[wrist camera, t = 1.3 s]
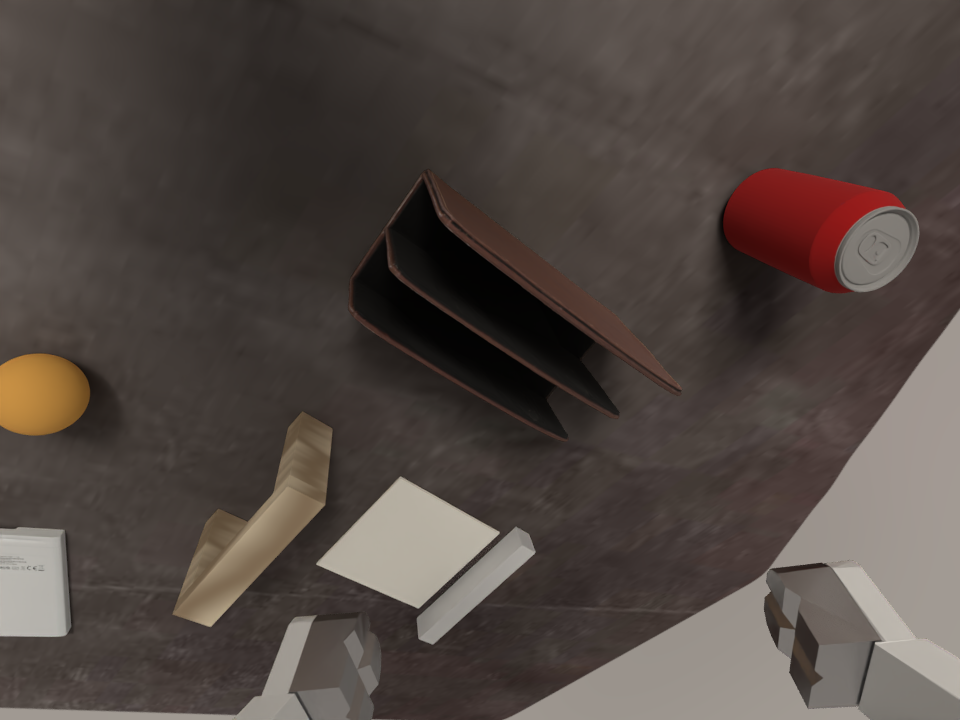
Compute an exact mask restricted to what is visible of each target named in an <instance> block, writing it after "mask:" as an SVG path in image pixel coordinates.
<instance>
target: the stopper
mask: <svg viewBox="0 0 960 720" xmlns="http://www.w3.org/2000/svg"><path fill="white" fill-rule="evenodd" d="M535 553H536V552H535V549H534V547H533V544H532V541H531V538H530V535H529V534H528V533H526V532H525V531H523V530H521V529H519V528H518V527H515V528H514V529H513V530H512V531H511V532H510V533H508V534H507V535H506V536H505V537H504V538H503V539H502V540H501V541H500V542H499V543H498V544H497V545H495V546H494V547H493V548H492V549H491V550H490V551H489V552H488V553H487V554H486V555H485V556H483V557H482V558H481V559H480V560H479V561H478V562H477V563H476V564H475V565H474V566H473V567H472V568H470V569H469V570H468V571H467V572H466V573H465V574H464V575H463V576H462V577H461V578H460V579H459V580H457V581H456V582H455V583H454V584H453V585H452V586H451V587H450V588H449V589H448V590H447V591H446V592H444V593H443V594H442V595H441V596H440V597H439V598H438V599H437V600H436V601H435V602H434V603H433V604H431V605H430V606H429V607H428V608H427V609H426V610H425V611H424V612H423V613H422V614H421V615H420V616H418V617H417V628H418V638H419V639H420V640H422V641H425V642H427V643H430V644H432V645H433V644H434V643H435V642H436V641H437V640H439V639H440V638H441V637H442V636H443V635H444V634H445V633H446V632H447V631H449V630H450V629H451V628H452V627H453V626H454V625H455V624H456V623H458V622H459V621H460V620H461V619H462V618H463V617H464V616H465V615H467V614H468V613H469V612H470V611H471V610H472V609H473V608H474V607H475V606H477V605H478V604H479V603H480V602H481V601H482V600H483V599H484V598H486V597H487V596H488V595H489V594H490V593H491V592H492V591H493V590H494V589H496V588H497V587H498V586H499V585H500V584H501V583H502V582H503V581H505V580H506V579H507V578H508V577H509V576H510V575H511V574H512V573H513V572H515V571H516V570H517V569H518V568H519V567H520V566H521V565H522V564H524V563H525V562H526V561H527V560H528V559H529V558H530V557H531V556H532V555H534V554H535Z"/></svg>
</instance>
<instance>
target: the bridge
mask: <svg viewBox="0 0 960 720" xmlns="http://www.w3.org/2000/svg"><path fill="white" fill-rule="evenodd" d="M332 432H333V429H332V428H331V427H329V426H327V425H325V424H324V423H322V422H320V421H318V420H317V419H315V418H313V417H311V416H310V415H308V414H306V413H304V412H303V411H302V412H301V413H300V415H299V416H298V417H297V418H296V419H295V420H294V422H293V423H292V424H291V425H290V426H289V427H288V431H287V435H286V440H285V444H284V448H283V453H282V457H281V462H280V466H279V470H278V475H277V479H276V484H275V488H274V492H273V494H272V495H271V496H270V498H269V499H268V500H267V501H266V502H265V503H264V504H263V505H262V507H261V508H260V509H259V510H258V511H257V512H256V513H255V514H254V515H253V517H252V518H251V519H250V520H249V521H248V522H247V521H245V520H243V519H241V518H238V517H236V516H234V515H232V514H229V513H227V512H225V511H223V510H220V509H217V510H216V512H215V513H214V514H213V515H212V516H211V517H210V518H209V520H208V521H207V522H206V523H205V526H204V529H203V532H202V534H201V537H200V540H199V543H198V545H197V548H196V551H195V554H194V556H193V559H192V562H191V565H190V567H189V570H188V573H187V576H186V578H185V581H184V584H183V587H182V589H181V592H180V595H179V598H178V600H177V603H176V606H175V608H174V611H173V615H176V616H179V617H182V618H185V619H188V620H191V621H194V622H197V623H200V624H203V625H206V626H209V627H211V626H212V625H213V624H214V623H215V622H216V621H217V620H218V619H219V618H220V617H221V615H222V614H223V613H224V612H225V611H226V610H227V609H228V608H229V607H230V606H231V605H232V604H233V603H234V602H235V601H236V599H237V598H238V597H239V596H240V595H241V594H242V593H243V592H244V591H245V590H246V589H247V588H248V587H249V586H250V585H251V583H252V582H253V581H254V580H255V579H256V578H257V577H258V576H259V575H260V574H261V573H262V572H263V571H264V570H265V569H266V567H267V566H268V565H269V564H270V563H271V562H272V561H273V560H274V559H275V558H276V557H277V556H278V555H279V554H280V553H281V551H282V550H283V549H284V548H285V547H286V546H287V545H288V544H289V543H290V542H291V541H292V540H293V539H294V538H295V537H296V535H297V534H298V533H299V532H300V531H301V530H302V529H303V528H304V527H305V526H306V525H307V524H308V523H309V522H310V521H311V519H312V518H313V517H314V516H315V515H316V514H317V513H318V512H319V511H320V510H321V509H322V508H323V507H324V506H325V502H326V492H327V482H328V472H329V462H330V452H331V442H332Z"/></svg>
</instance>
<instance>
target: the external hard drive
mask: <svg viewBox="0 0 960 720" xmlns="http://www.w3.org/2000/svg"><path fill="white" fill-rule="evenodd" d="M70 628H71V614H70V601H69V585H68V570H67V554H66V540H65V530H59V529H41V528H24V527H17V528H16V529H11V528H0V636H36V637H60V636H65V635H67V634H68V632H69V630H70Z"/></svg>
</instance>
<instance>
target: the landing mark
mask: <svg viewBox="0 0 960 720" xmlns="http://www.w3.org/2000/svg"><path fill="white" fill-rule="evenodd" d="M498 534H500V532H499V531H497V530H495V529H493V528H492V527H490V526H488V525H486V524H484V523H483V522H481V521H479V520H477V519H476V518H474V517H472V516H470V515H468V514H467V513H465V512H463V511H461V510H460V509H458V508H456V507H454V506H452V505H451V504H449V503H447V502H445V501H444V500H442V499H440V498H438V497H436V496H435V495H433V494H431V493H429V492H428V491H426V490H424V489H422V488H420V487H419V486H417V485H415V484H413V483H412V482H410V481H408V480H406V479H404V478H403V477H401V476H400V477H399V478H398V479H397V480H396V481H395V482H394V483H393V484H392V485H391V486H390V487H389V488H388V490H387V491H386V492H385V493H384V494H383V495H382V496H381V497H380V498H379V499H378V500H377V501H376V502H375V503H374V504H373V505H372V506H371V507H370V508H369V509H368V510H367V511H366V512H365V513H364V514H363V515H362V516H361V517H360V518H359V519H358V520H357V521H356V523H355V524H354V525H353V526H352V527H351V528H350V529H349V530H348V531H347V532H346V533H345V534H344V535H343V536H342V537H341V538H340V539H339V540H338V541H337V542H336V543H335V544H334V545H333V546H332V547H331V548H330V549H329V550H328V551H327V552H326V553H325V554H324V555H323V557H322V558H321V559H320V560H319V561H318V562H317V563H316V565H318V566H321V567H323V568H325V569H328V570H330V571H332V572H335V573H337V574H339V575H342V576H344V577H346V578H349V579H351V580H353V581H356V582H358V583H360V584H363V585H365V586H367V587H370V588H372V589H374V590H377V591H379V592H381V593H383V594H386V595H388V596H390V597H393V598H395V599H397V600H400V601H402V602H404V603H407V604H409V605H411V606H414V607H416V608H418V609H419V608H420V607H421V606H422V605H423V604H424V603H425V602H426V601H427V600H428V599H429V598H431V597H432V596H433V595H434V594H435V593H436V592H437V591H438V590H439V589H440V588H441V587H442V586H443V585H445V584H446V583H447V582H448V581H449V580H450V579H451V578H452V577H453V576H454V575H455V574H456V573H457V572H459V571H460V570H461V569H462V568H463V567H464V566H465V565H466V564H467V563H468V562H469V561H470V560H472V559H473V558H474V557H475V556H476V555H477V554H478V553H479V552H480V551H481V550H482V549H483V548H484V547H486V546H487V545H488V544H489V543H490V542H491V541H492V540H493V539H494V538H495V537H496V536H497V535H498Z"/></svg>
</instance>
